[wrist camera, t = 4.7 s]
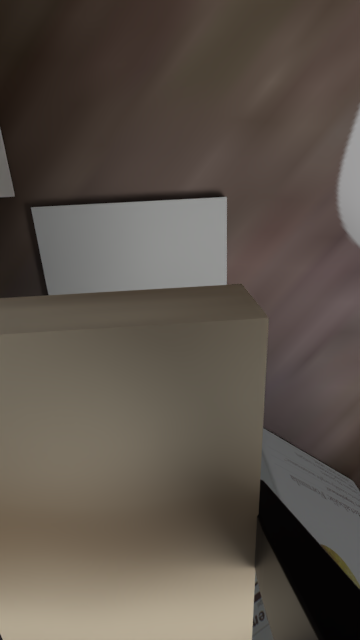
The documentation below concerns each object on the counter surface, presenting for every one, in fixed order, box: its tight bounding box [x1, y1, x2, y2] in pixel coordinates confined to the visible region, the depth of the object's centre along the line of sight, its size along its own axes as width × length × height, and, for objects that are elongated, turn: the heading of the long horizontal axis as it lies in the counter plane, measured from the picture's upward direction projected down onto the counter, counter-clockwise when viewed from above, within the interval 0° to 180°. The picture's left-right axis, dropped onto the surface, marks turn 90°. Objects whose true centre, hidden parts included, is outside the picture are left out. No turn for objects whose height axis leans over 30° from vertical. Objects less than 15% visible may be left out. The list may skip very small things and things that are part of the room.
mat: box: [31, 197, 227, 295], centre depth 18 cm, size 13×9×1 cm
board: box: [0, 284, 269, 640], centre depth 8 cm, size 10×6×2 cm, turn 3°
